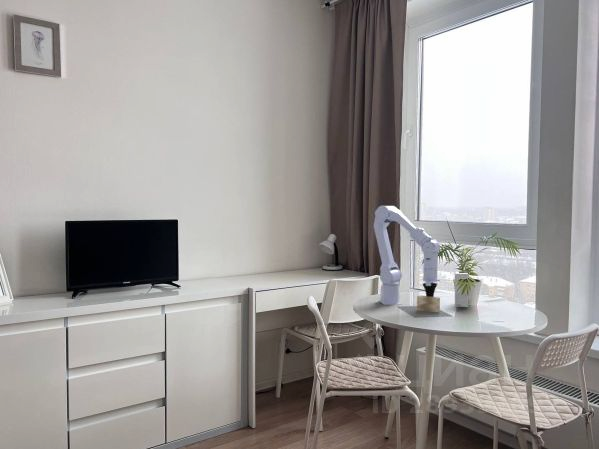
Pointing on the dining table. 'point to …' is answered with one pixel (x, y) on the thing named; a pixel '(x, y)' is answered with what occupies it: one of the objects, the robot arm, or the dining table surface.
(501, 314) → the dining table surface
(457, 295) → the skincare box
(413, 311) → the mat
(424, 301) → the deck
